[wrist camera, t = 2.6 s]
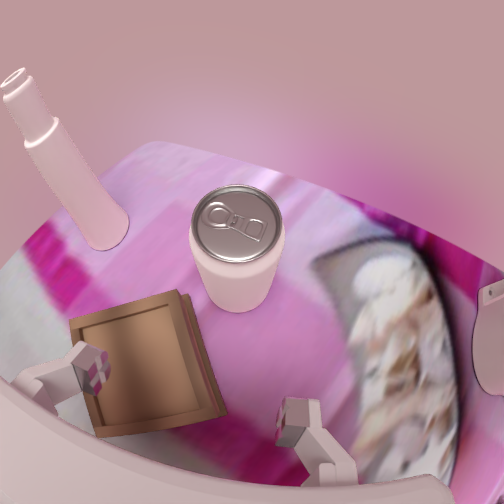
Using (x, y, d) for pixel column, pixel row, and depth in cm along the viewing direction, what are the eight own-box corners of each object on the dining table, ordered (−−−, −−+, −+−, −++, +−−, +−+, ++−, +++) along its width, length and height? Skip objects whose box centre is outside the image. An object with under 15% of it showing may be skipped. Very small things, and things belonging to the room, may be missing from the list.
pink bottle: (124, 251, 29) (15, 88, 9) (81, 251, 28) (-33, 116, 8) (133, 206, 31) (61, 43, 11) (93, 208, 31) (9, 68, 11)
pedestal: (189, 296, 27) (180, 281, 23) (227, 412, 22) (225, 421, 18) (87, 325, 25) (64, 315, 21) (115, 434, 20) (94, 443, 16)
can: (221, 244, 29) (211, 168, 18) (278, 266, 29) (301, 197, 18) (195, 299, 27) (165, 246, 16) (256, 323, 26) (268, 286, 15)
